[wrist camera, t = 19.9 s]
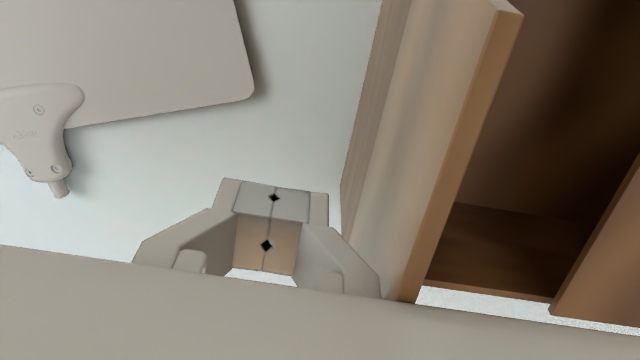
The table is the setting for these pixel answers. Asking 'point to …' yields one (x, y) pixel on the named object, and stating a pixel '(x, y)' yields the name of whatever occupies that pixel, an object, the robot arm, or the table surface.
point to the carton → (537, 163)
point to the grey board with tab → (109, 69)
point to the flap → (429, 134)
